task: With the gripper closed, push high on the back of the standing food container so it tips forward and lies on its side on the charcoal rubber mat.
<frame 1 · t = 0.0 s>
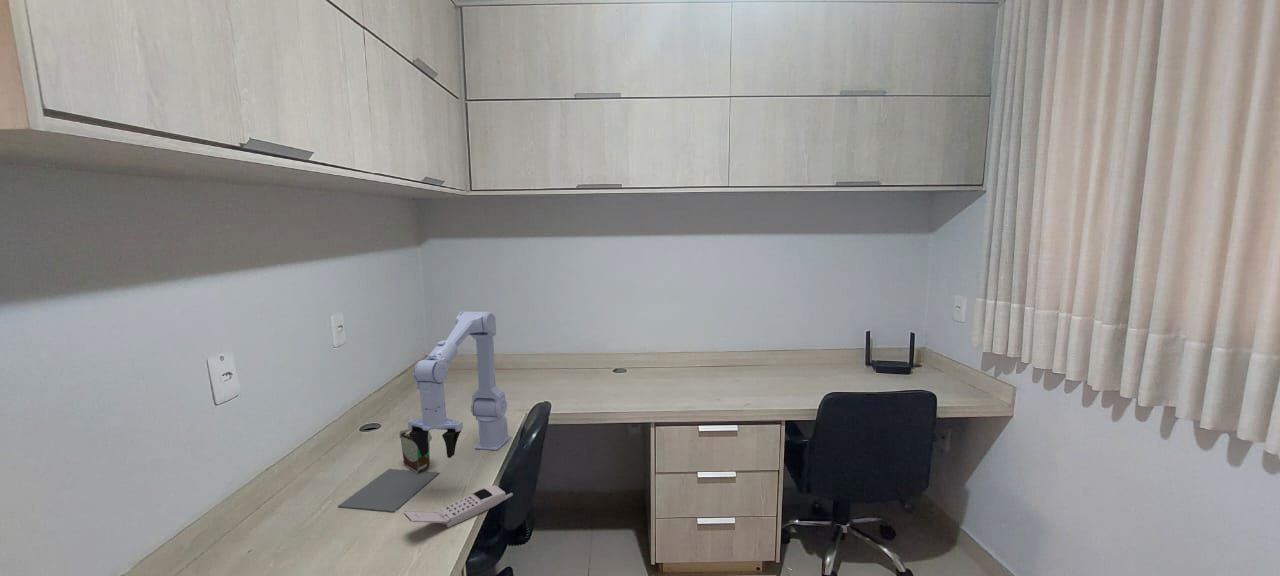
hand: (437, 455, 130), 10 cm above the table, tool pointing down, fingers open, 7 cm apart
mobile phone: (462, 516, 120), on the table
charcoal mat: (391, 489, 133), on the table
food container: (421, 465, 146), on the table, touching charcoal mat
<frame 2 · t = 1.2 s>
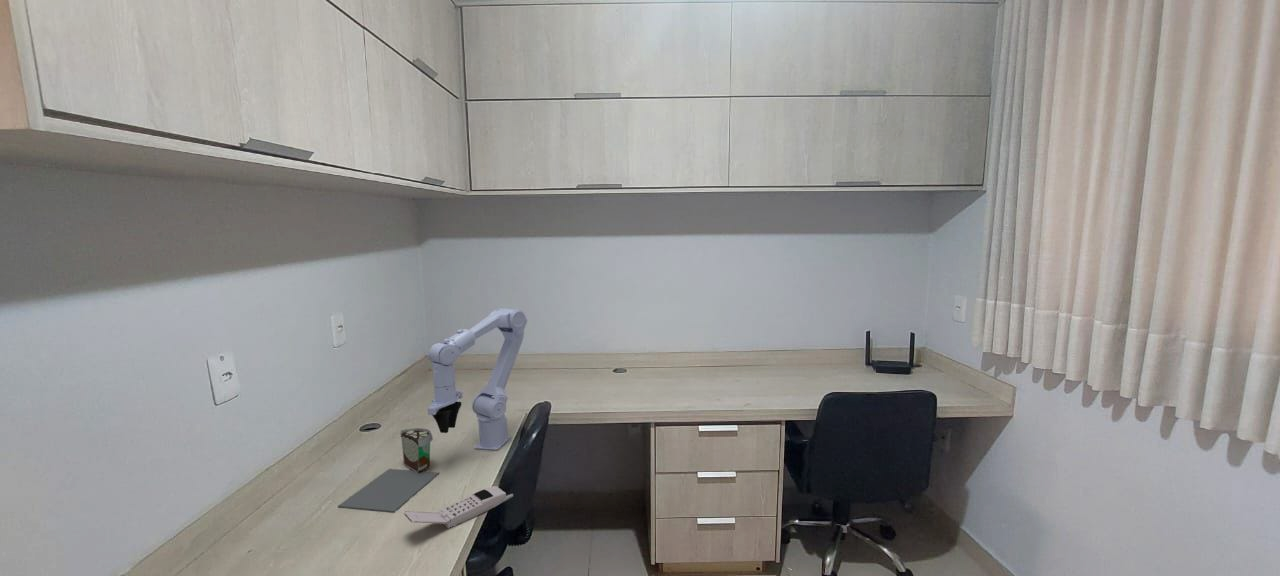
hand: (447, 429, 145), 10 cm above the table, tool pointing down, fingers open, 3 cm apart
nothing on the table moved.
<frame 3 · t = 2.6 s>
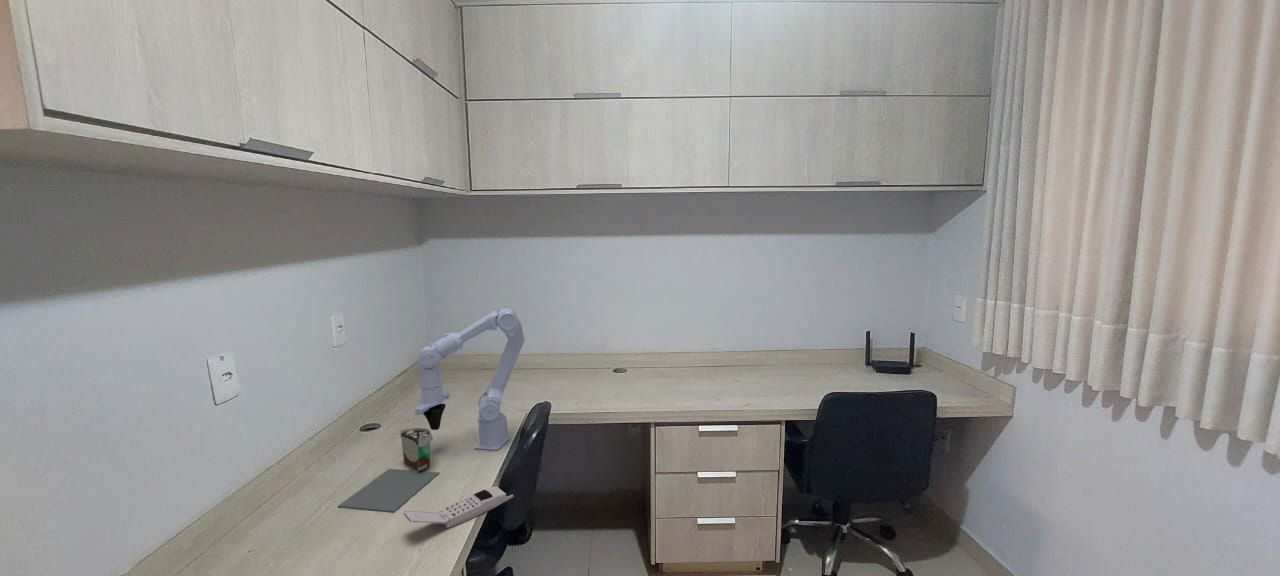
hand: (435, 428, 152), 8 cm above the table, tool pointing down, fingers closed
nothing on the table moved.
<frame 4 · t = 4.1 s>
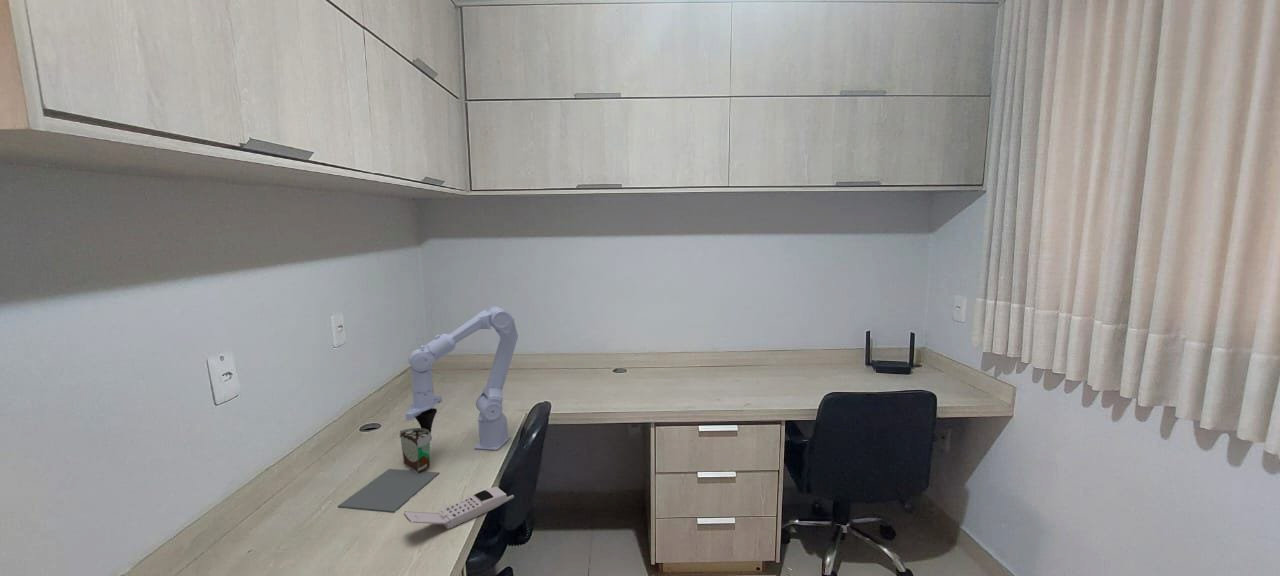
hand: (426, 433, 148), 8 cm above the table, tool pointing down, fingers closed, pressing on food container
food container: (421, 465, 146), on the table, touching charcoal mat, gripper
everything else where it was.
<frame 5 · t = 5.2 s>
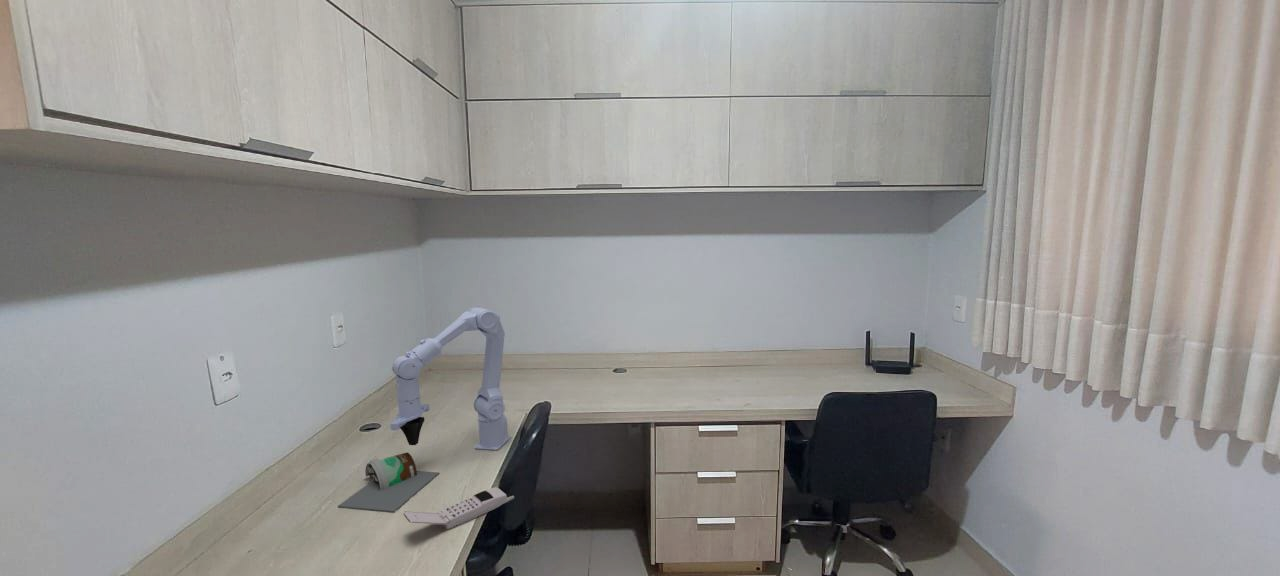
hand: (413, 444, 142), 8 cm above the table, tool pointing down, fingers closed
food container: (409, 459, 143), point 3 cm above the table, touching charcoal mat
everything else where it was.
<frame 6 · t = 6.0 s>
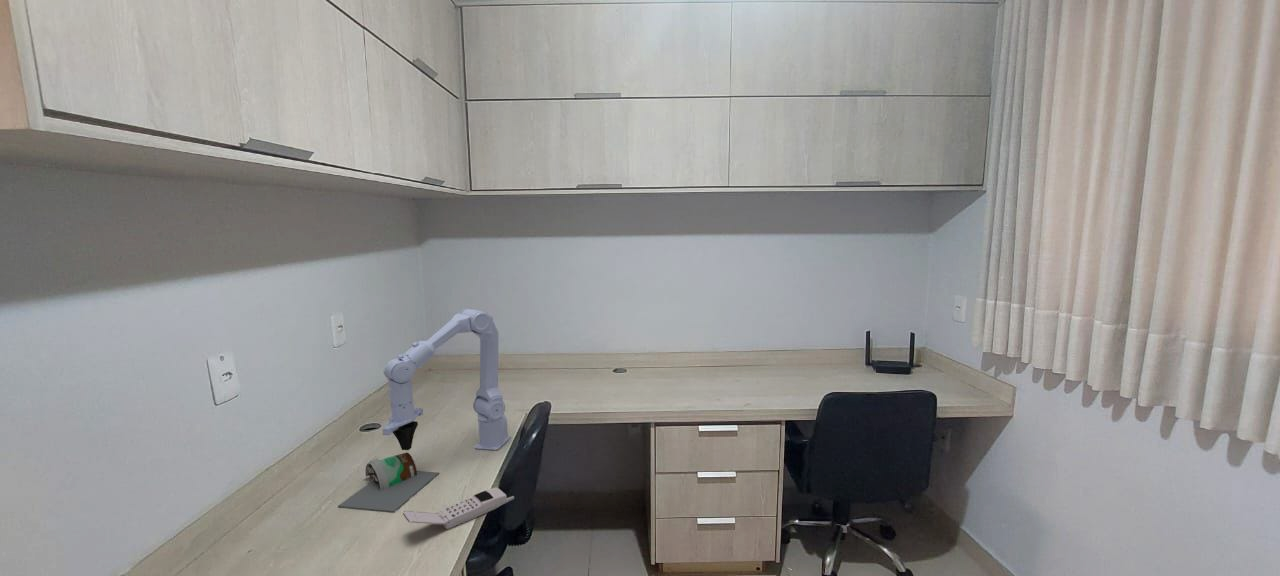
hand: (406, 449, 139), 8 cm above the table, tool pointing down, fingers closed
nothing on the table moved.
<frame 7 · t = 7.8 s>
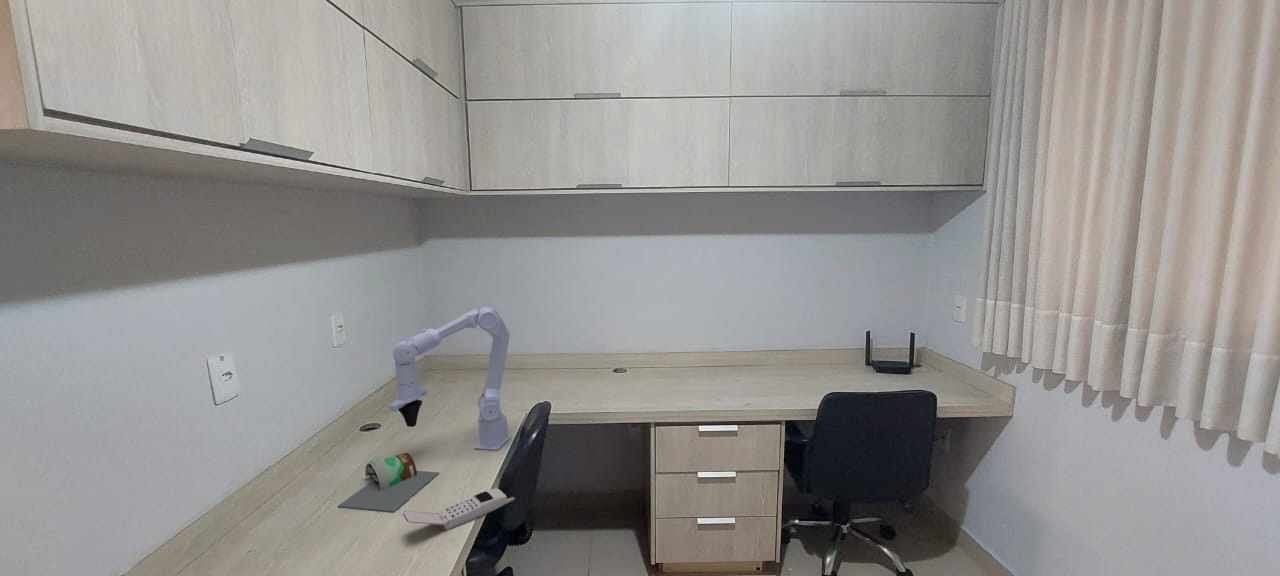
hand: (411, 425, 149), 10 cm above the table, tool pointing down, fingers closed
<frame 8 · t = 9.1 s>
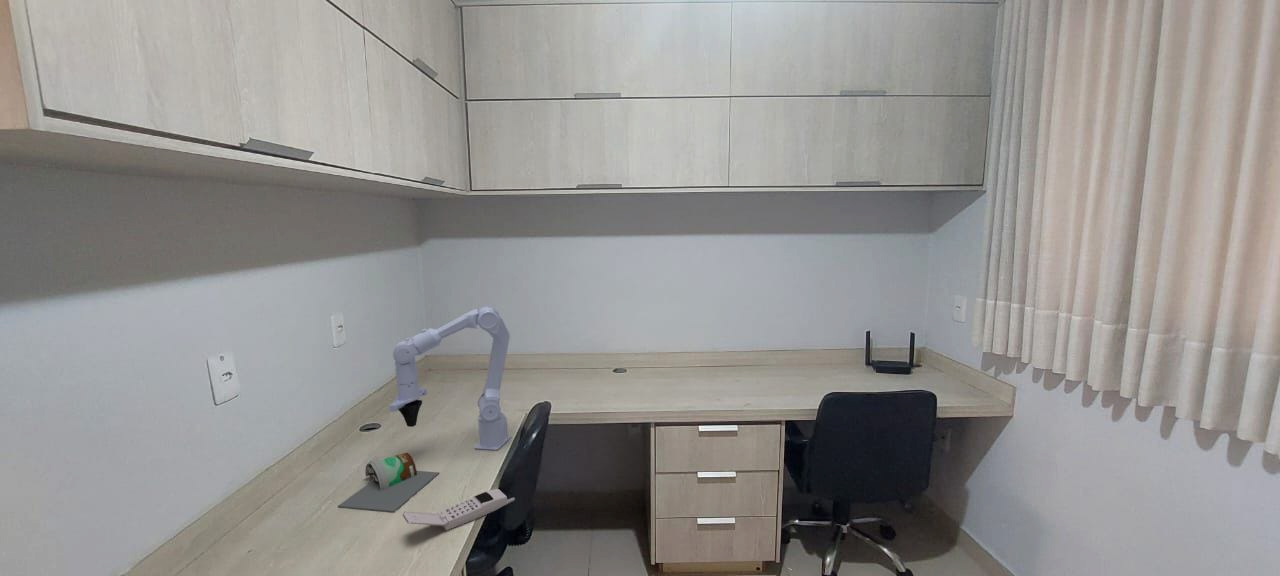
hand: (411, 425, 149), 10 cm above the table, tool pointing down, fingers closed
at the end: food container tilted 90°; food container inside the target area (8.0 cm from its centre), point 3.5 cm above the table; the gripper is holding nothing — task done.
